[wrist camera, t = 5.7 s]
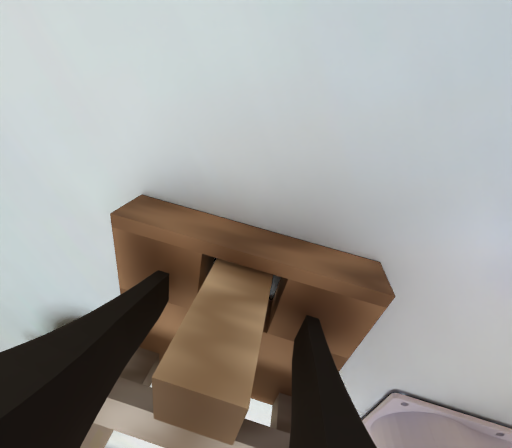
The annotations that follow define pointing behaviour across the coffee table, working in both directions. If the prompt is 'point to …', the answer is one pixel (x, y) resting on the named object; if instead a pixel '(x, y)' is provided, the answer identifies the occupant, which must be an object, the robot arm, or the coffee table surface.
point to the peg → (214, 354)
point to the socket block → (276, 320)
